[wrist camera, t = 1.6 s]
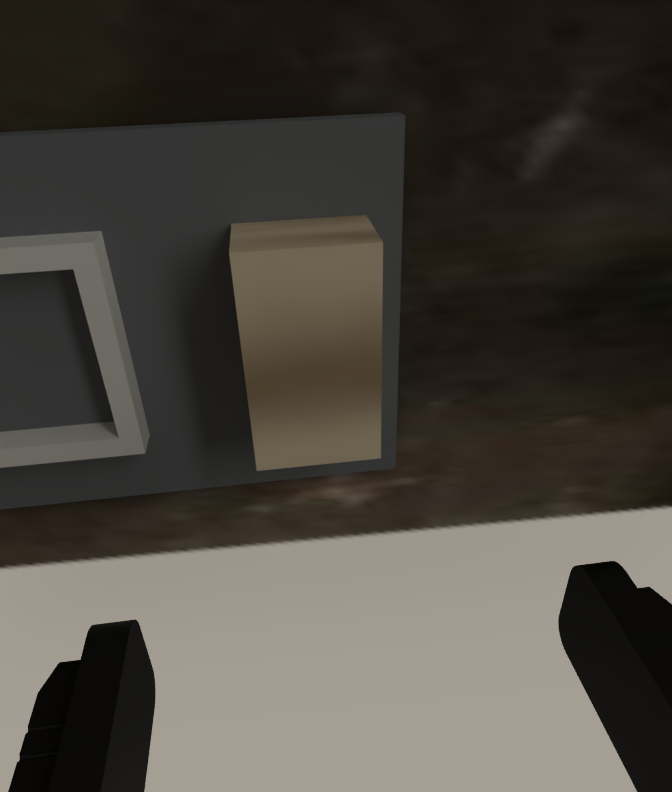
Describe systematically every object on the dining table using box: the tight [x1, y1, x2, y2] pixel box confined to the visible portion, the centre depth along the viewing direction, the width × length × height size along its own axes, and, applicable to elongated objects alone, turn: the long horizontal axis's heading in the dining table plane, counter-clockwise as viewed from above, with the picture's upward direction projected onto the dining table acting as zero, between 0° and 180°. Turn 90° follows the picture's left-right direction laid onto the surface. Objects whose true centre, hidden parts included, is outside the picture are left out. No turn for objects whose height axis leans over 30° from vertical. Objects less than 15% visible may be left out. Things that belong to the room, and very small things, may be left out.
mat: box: [0, 112, 405, 510], centre depth 22 cm, size 22×14×1 cm, turn 92°
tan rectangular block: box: [229, 215, 383, 471], centre depth 21 cm, size 8×4×3 cm, turn 2°
